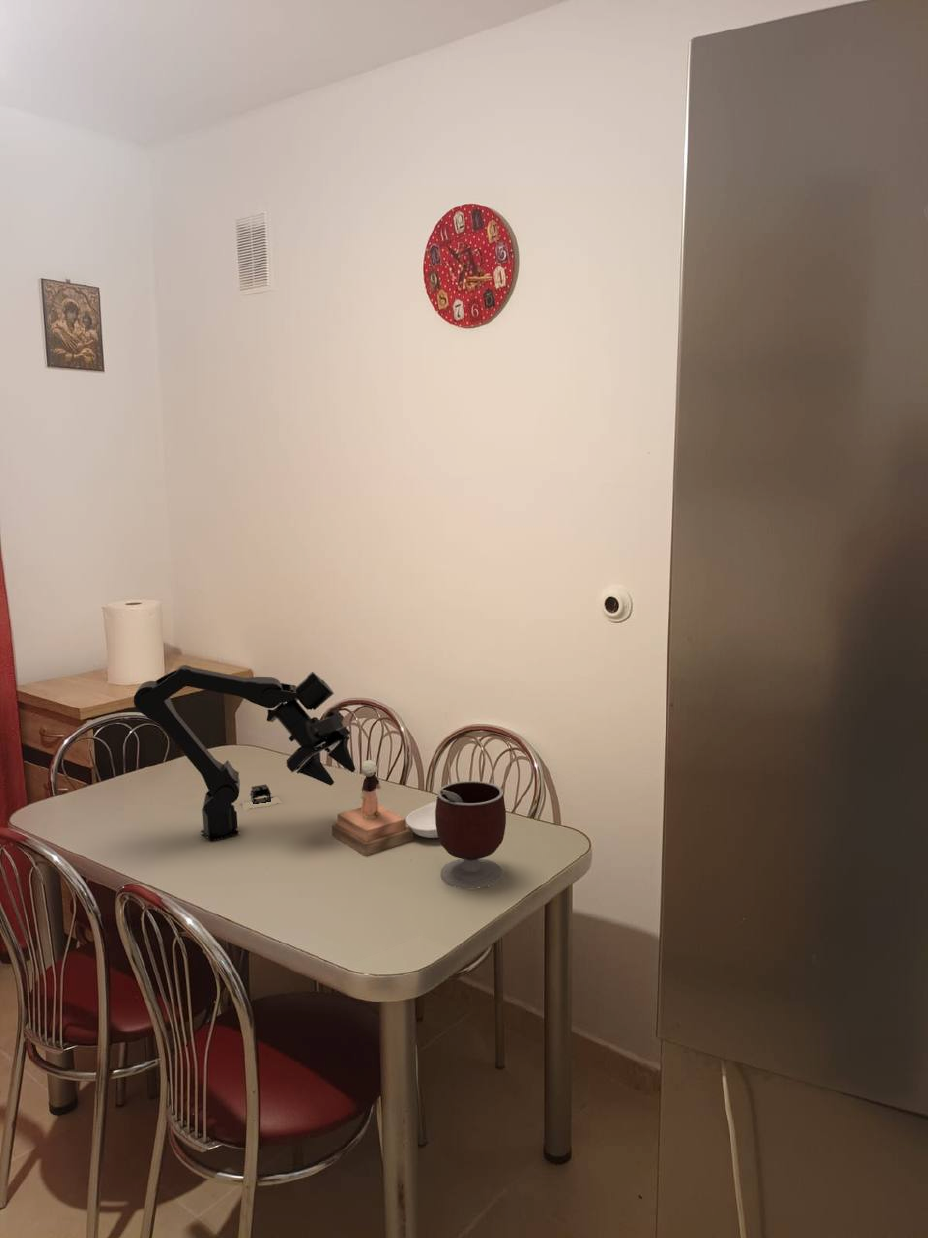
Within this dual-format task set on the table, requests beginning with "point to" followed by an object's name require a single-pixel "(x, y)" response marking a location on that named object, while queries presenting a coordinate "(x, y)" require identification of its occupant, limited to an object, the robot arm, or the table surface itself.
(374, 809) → the grandmother figurine
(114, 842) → the table surface
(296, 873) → the table surface
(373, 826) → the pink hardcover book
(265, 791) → the black barn door light
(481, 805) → the mate gourd
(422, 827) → the spoon rest
